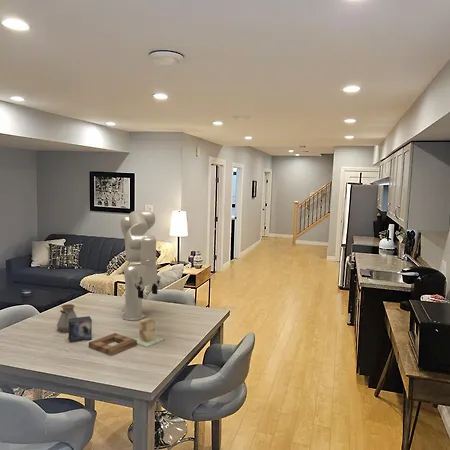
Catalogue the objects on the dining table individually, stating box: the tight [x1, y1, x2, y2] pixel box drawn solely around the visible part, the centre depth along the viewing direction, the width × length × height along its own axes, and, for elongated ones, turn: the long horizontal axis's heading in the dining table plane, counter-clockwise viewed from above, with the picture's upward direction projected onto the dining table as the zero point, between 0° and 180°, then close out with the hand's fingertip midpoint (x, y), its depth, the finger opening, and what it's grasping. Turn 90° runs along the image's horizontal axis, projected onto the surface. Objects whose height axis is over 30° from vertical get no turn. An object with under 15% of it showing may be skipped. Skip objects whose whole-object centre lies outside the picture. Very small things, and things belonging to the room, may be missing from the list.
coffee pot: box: [56, 303, 78, 333], centre depth 215 cm, size 21×12×15 cm, turn 7°
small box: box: [67, 315, 93, 343], centre depth 207 cm, size 11×6×10 cm, turn 118°
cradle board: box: [88, 332, 138, 357], centre depth 200 cm, size 16×16×2 cm
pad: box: [134, 335, 165, 348], centre depth 208 cm, size 12×12×1 cm
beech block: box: [138, 317, 156, 342], centre depth 207 cm, size 6×6×10 cm
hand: (147, 295), depth 206 cm, fingers open, 9 cm apart
